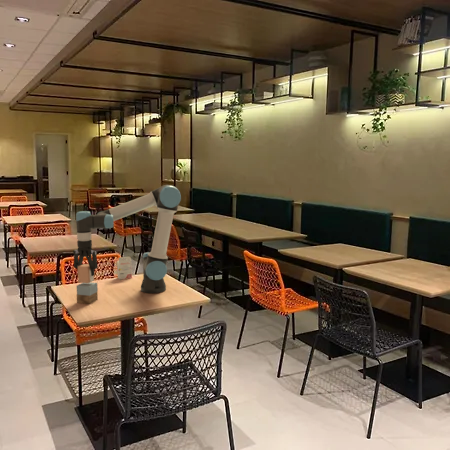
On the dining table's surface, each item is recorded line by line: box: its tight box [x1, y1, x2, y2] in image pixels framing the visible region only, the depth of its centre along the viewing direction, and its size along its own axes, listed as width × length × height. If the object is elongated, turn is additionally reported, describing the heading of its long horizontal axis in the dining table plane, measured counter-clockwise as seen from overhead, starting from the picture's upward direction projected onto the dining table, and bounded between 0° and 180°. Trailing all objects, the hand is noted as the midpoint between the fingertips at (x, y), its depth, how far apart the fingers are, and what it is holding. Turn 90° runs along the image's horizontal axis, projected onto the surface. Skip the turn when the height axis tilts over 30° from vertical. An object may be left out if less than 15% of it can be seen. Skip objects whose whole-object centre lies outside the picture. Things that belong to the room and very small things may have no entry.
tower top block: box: [76, 281, 99, 296], centre depth 249 cm, size 8×8×5 cm
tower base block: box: [76, 292, 99, 305], centre depth 249 cm, size 8×8×5 cm
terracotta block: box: [77, 263, 95, 284], centre depth 247 cm, size 6×6×9 cm
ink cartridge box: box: [116, 256, 133, 280], centre depth 298 cm, size 9×5×15 cm, turn 118°
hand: (86, 280), depth 248 cm, fingers closed on terracotta block, 6 cm apart
